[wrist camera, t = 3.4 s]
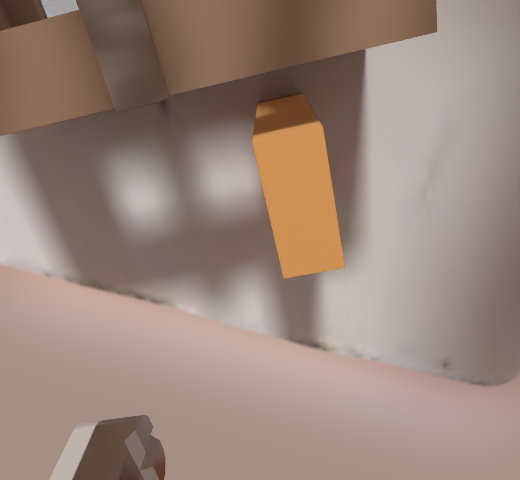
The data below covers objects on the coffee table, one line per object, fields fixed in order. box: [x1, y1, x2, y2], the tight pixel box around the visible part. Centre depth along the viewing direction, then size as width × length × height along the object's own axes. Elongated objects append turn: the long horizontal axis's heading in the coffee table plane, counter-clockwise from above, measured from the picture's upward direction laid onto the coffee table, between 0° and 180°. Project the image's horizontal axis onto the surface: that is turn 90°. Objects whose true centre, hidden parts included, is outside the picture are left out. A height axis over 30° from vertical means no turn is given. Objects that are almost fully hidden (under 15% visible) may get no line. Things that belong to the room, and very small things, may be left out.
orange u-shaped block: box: [252, 93, 345, 279], centre depth 24 cm, size 7×3×11 cm, turn 12°
